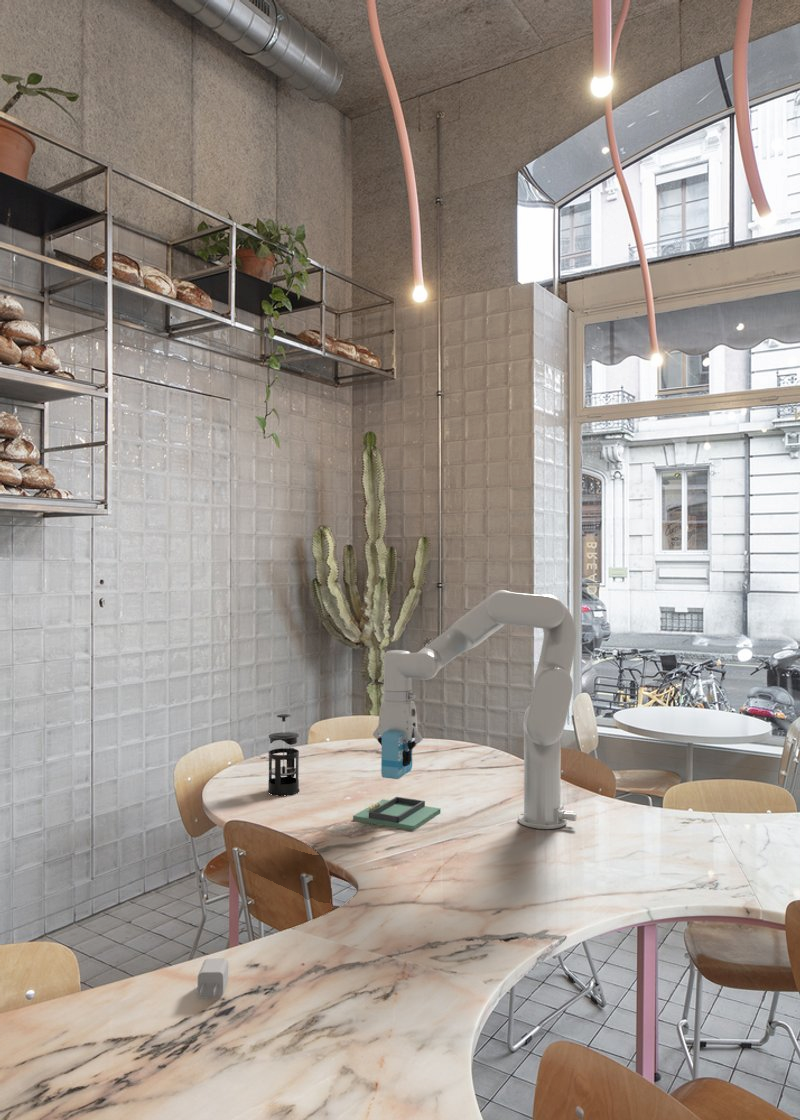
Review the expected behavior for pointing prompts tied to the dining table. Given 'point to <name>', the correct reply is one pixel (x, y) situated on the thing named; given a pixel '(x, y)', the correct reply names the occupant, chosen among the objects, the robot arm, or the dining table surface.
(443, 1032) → the dining table surface
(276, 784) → the french press
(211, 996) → the usb wall charger
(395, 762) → the data package
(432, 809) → the circuit board
